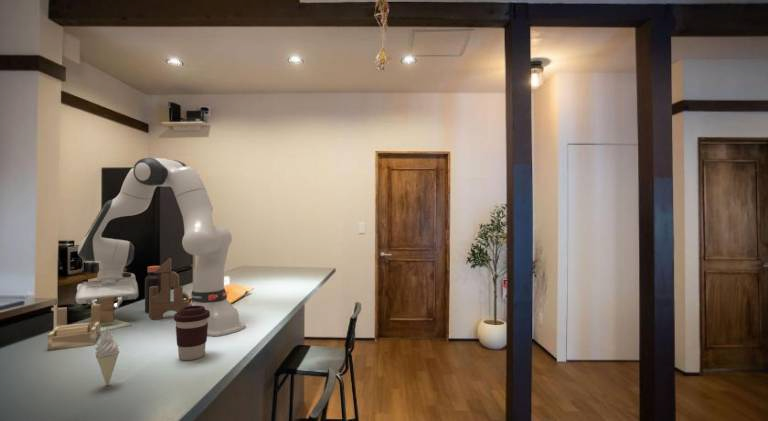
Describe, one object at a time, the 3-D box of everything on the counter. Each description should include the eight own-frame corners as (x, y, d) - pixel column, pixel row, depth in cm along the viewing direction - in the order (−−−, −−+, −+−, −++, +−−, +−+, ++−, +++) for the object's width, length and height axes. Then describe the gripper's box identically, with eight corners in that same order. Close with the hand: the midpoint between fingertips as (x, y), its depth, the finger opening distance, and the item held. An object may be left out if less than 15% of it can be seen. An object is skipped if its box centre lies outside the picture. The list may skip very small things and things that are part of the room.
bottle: (141, 312, 169) (141, 267, 169) (152, 309, 175) (153, 265, 175) (154, 313, 168) (154, 267, 168) (166, 309, 174) (166, 265, 174)
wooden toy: (190, 312, 169) (190, 256, 169) (188, 316, 163) (188, 257, 163) (150, 316, 164) (150, 257, 164) (146, 320, 157) (146, 259, 158)
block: (100, 320, 149) (100, 297, 149) (114, 319, 151) (114, 296, 152) (98, 323, 145) (98, 300, 145) (112, 322, 148) (113, 298, 148)
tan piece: (57, 339, 133) (57, 308, 133) (100, 334, 139) (100, 304, 139) (47, 350, 123) (47, 316, 123) (94, 344, 128) (94, 311, 128)
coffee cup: (173, 365, 112) (173, 313, 112) (174, 353, 120) (174, 306, 120) (210, 359, 116) (210, 309, 116) (208, 348, 125) (208, 302, 125)
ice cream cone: (103, 381, 101) (103, 324, 101) (123, 380, 101) (123, 323, 101) (90, 390, 96) (90, 330, 96) (111, 389, 96) (112, 329, 96)
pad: (131, 325, 150) (131, 323, 150) (95, 333, 140) (95, 332, 140) (116, 320, 157) (116, 319, 157) (81, 328, 146) (81, 326, 146)
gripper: (76, 277, 150) (71, 308, 141) (138, 273, 159) (136, 301, 151) (79, 287, 153) (73, 317, 145) (139, 282, 163) (137, 310, 155)
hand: (106, 309), depth 148 cm, fingers closed on block, 4 cm apart
